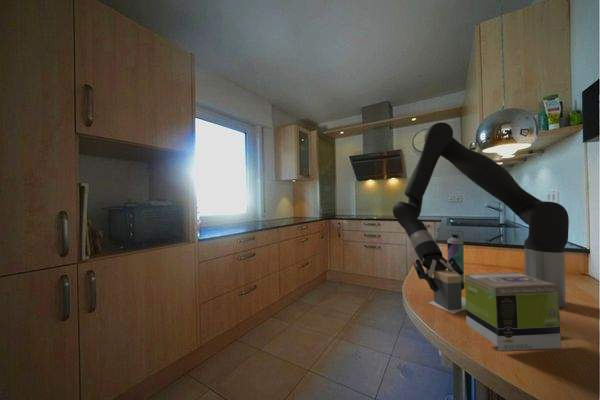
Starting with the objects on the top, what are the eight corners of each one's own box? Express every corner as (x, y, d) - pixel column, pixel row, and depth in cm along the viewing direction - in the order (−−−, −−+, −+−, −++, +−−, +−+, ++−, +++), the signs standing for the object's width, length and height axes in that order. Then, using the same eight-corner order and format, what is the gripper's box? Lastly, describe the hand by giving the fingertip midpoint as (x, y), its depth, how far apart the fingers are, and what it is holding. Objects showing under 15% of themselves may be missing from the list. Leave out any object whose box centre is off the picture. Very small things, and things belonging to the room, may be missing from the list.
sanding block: (446, 300, 76) (446, 270, 76) (461, 309, 70) (461, 275, 70) (434, 301, 75) (433, 270, 75) (447, 310, 69) (447, 276, 69)
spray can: (454, 280, 98) (453, 232, 99) (467, 284, 93) (466, 234, 93) (444, 281, 97) (444, 233, 97) (457, 286, 92) (456, 235, 92)
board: (453, 297, 81) (453, 294, 81) (480, 306, 74) (480, 303, 74) (428, 306, 74) (428, 302, 74) (454, 317, 67) (454, 313, 67)
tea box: (519, 326, 62) (518, 271, 62) (562, 350, 52) (561, 284, 52) (464, 328, 62) (463, 272, 62) (497, 352, 52) (496, 286, 52)
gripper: (410, 240, 79) (434, 286, 68) (448, 239, 81) (477, 283, 70) (402, 252, 85) (422, 296, 73) (438, 251, 86) (463, 294, 75)
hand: (449, 290), depth 71 cm, fingers open, 8 cm apart
